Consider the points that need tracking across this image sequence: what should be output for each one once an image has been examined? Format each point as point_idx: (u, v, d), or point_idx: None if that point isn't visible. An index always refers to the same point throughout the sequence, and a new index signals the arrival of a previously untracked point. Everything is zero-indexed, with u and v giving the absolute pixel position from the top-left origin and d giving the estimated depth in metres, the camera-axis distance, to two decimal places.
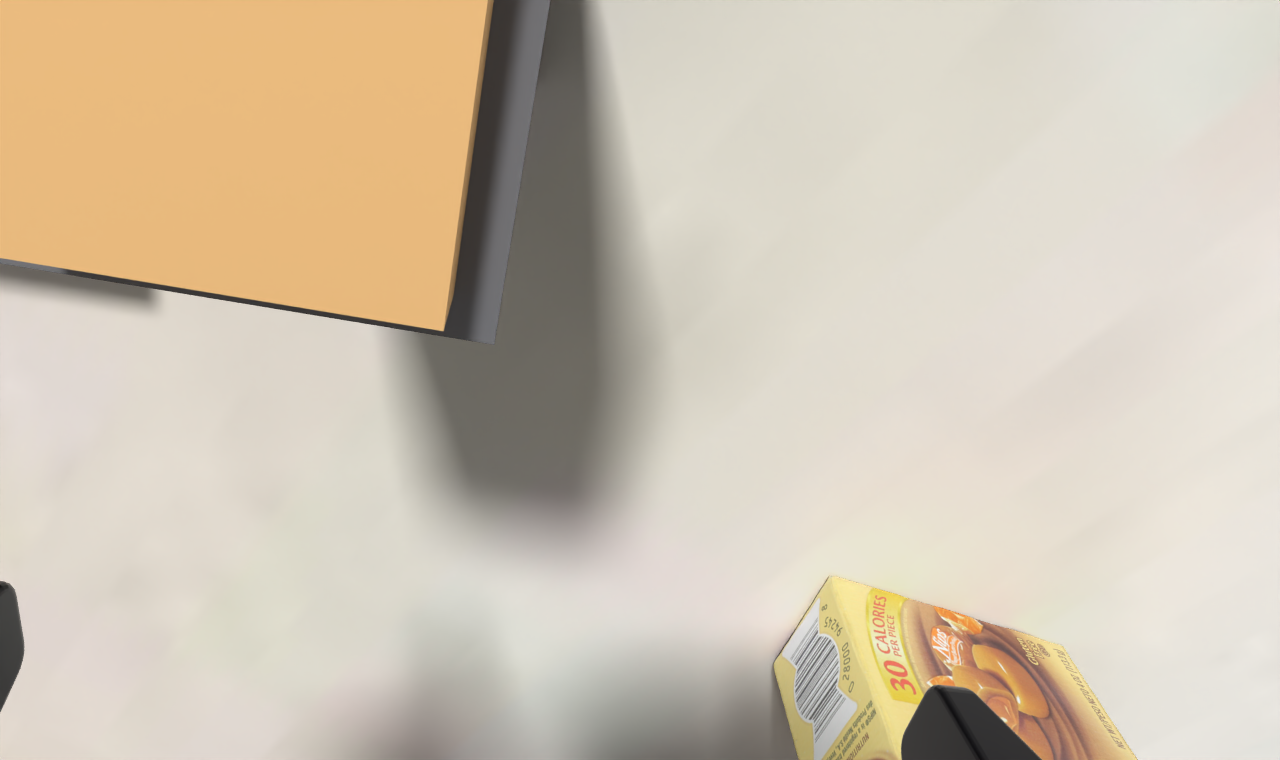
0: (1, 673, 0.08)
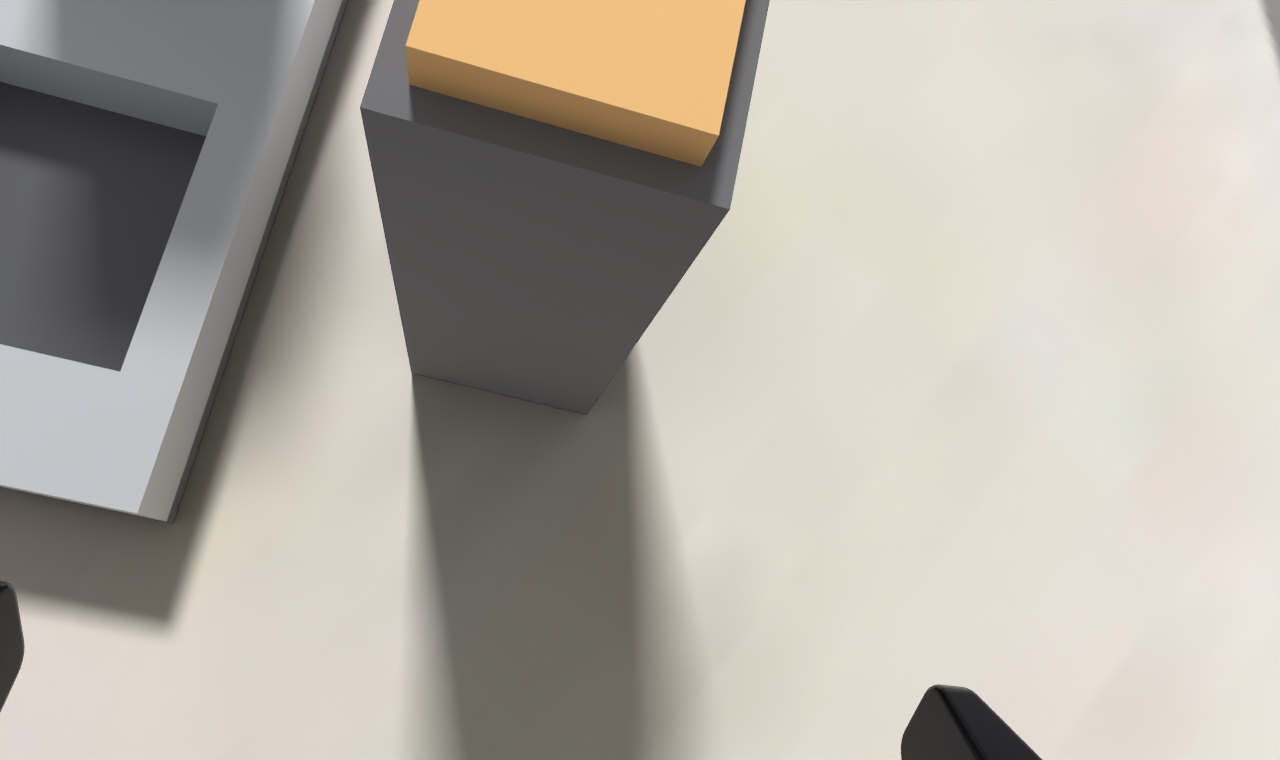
0: (2, 673, 0.08)
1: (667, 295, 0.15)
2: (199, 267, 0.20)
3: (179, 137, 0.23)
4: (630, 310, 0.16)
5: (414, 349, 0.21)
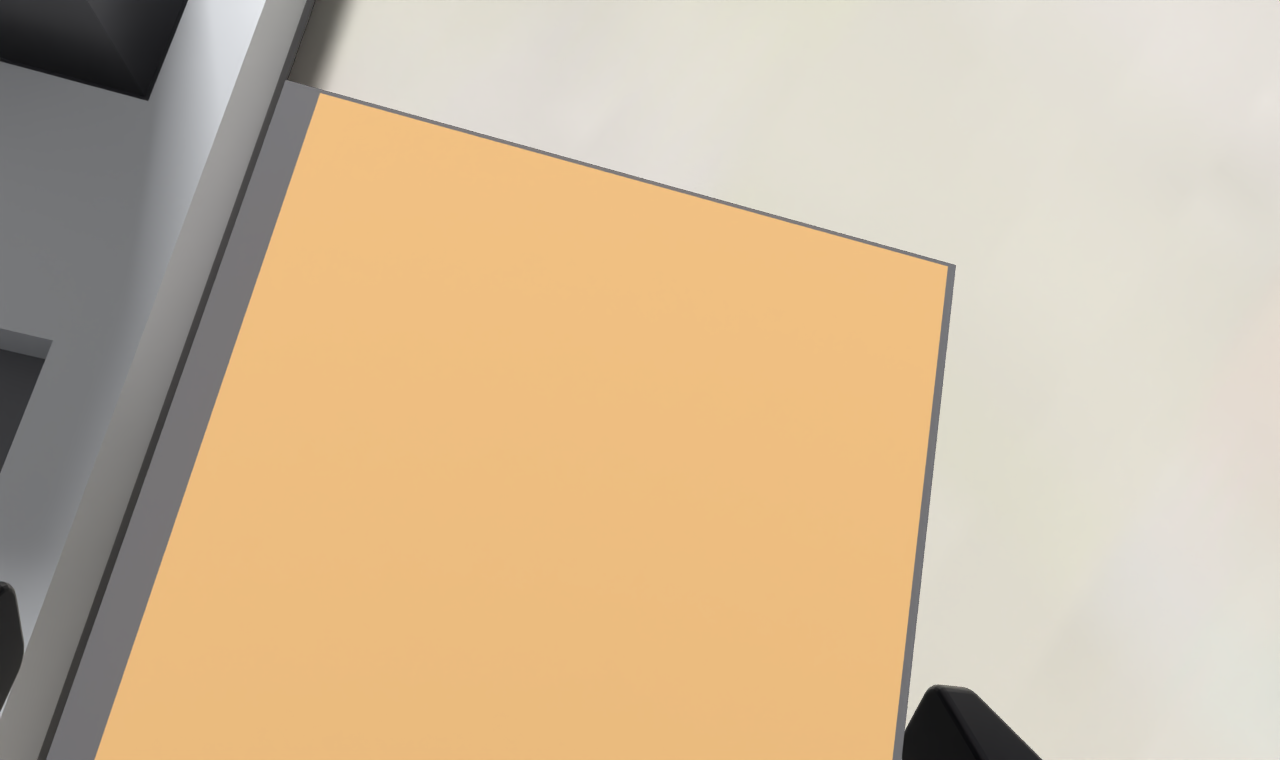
0: (1, 673, 0.08)
1: None
2: None
3: (15, 364, 0.17)
4: None
5: None
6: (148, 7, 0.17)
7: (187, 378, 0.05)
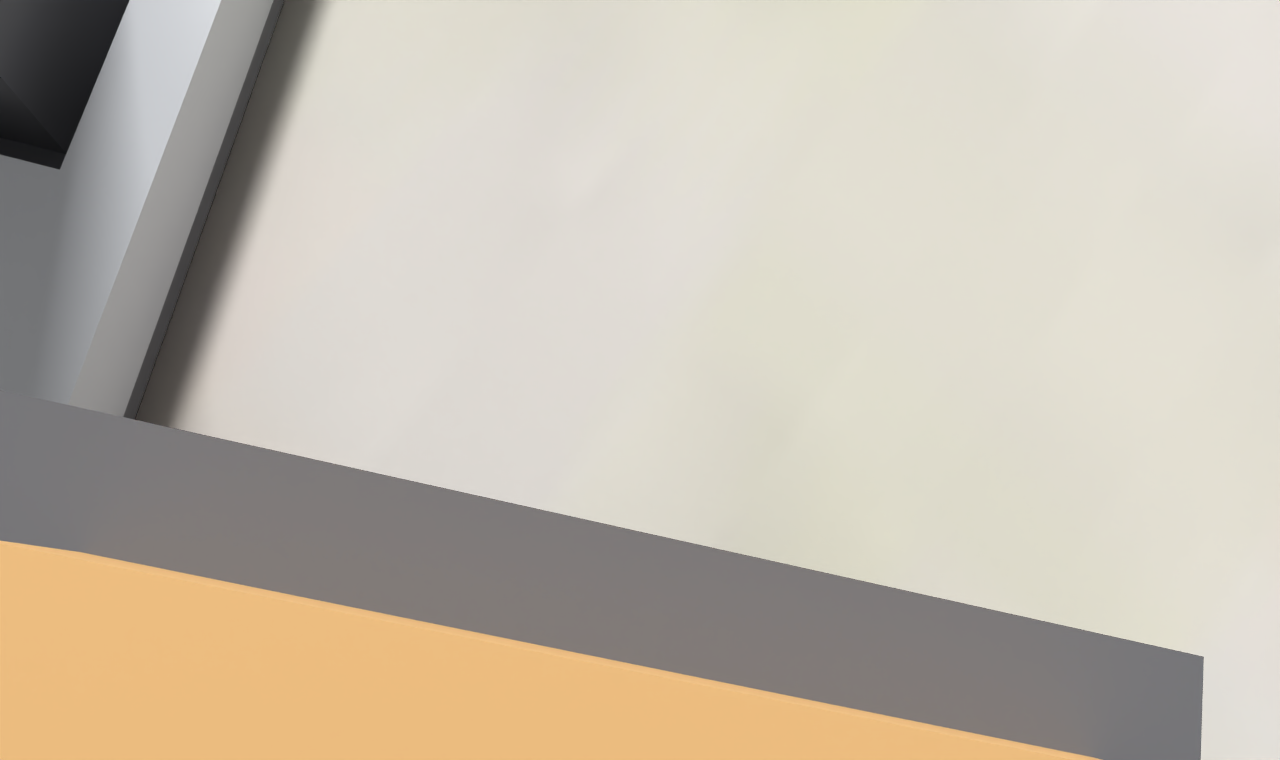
0: None
1: None
2: None
3: None
4: None
5: None
6: (67, 51, 0.15)
7: None
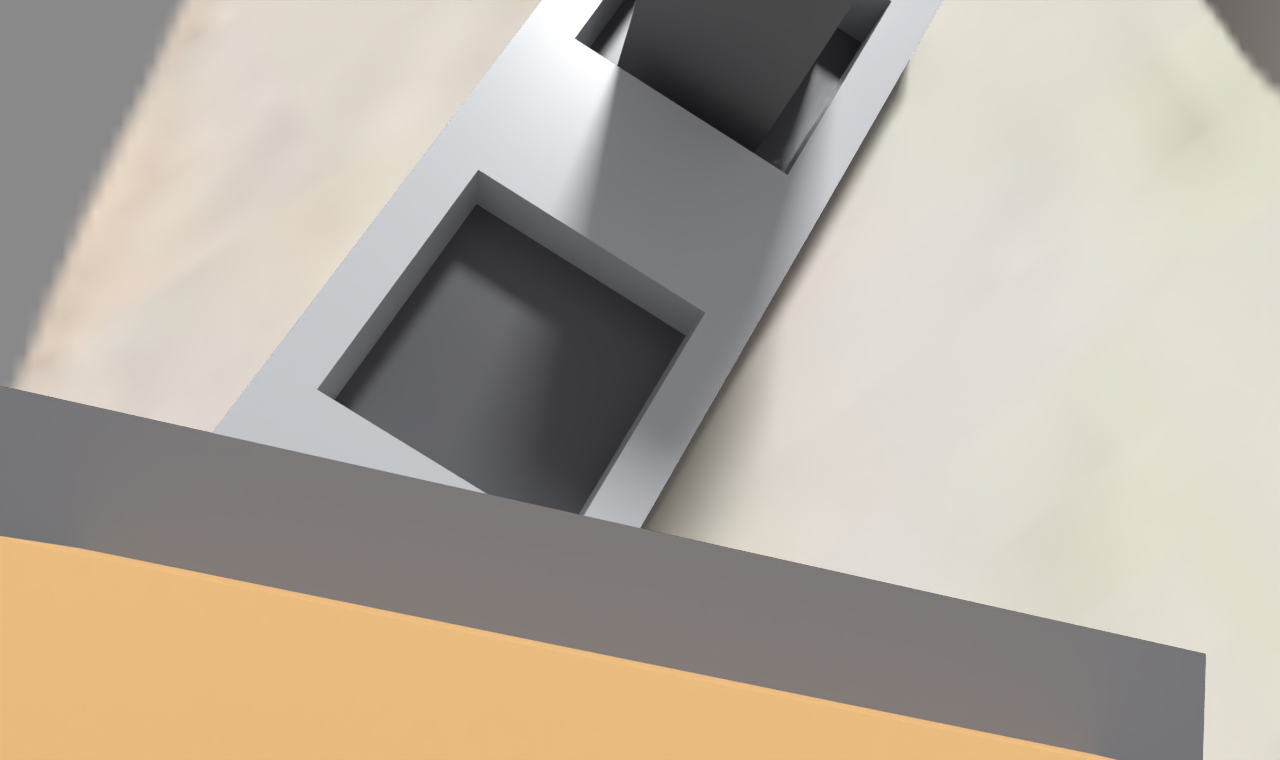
0: None
1: None
2: (655, 463, 0.22)
3: (638, 314, 0.24)
4: None
5: None
6: None
7: None
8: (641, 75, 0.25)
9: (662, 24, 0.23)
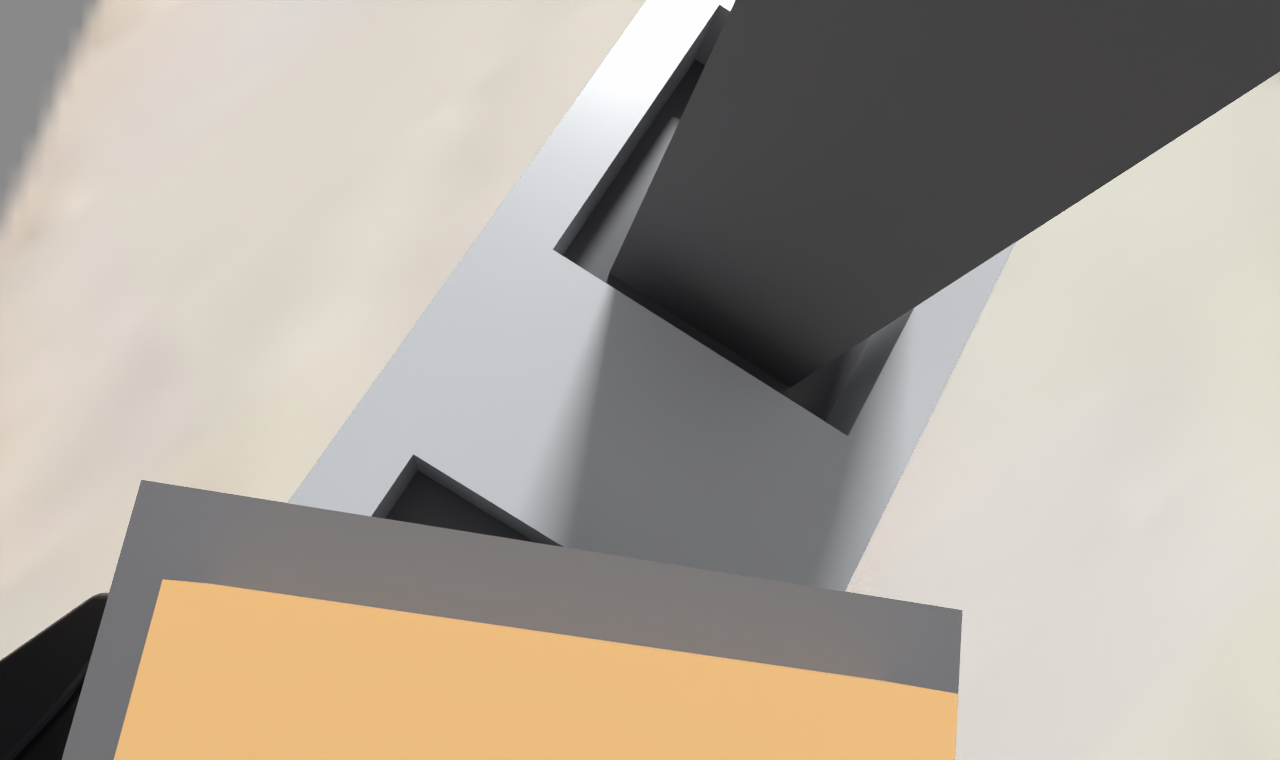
0: None
1: None
2: None
3: None
4: None
5: None
6: None
7: None
8: (645, 281, 0.19)
9: (674, 238, 0.16)
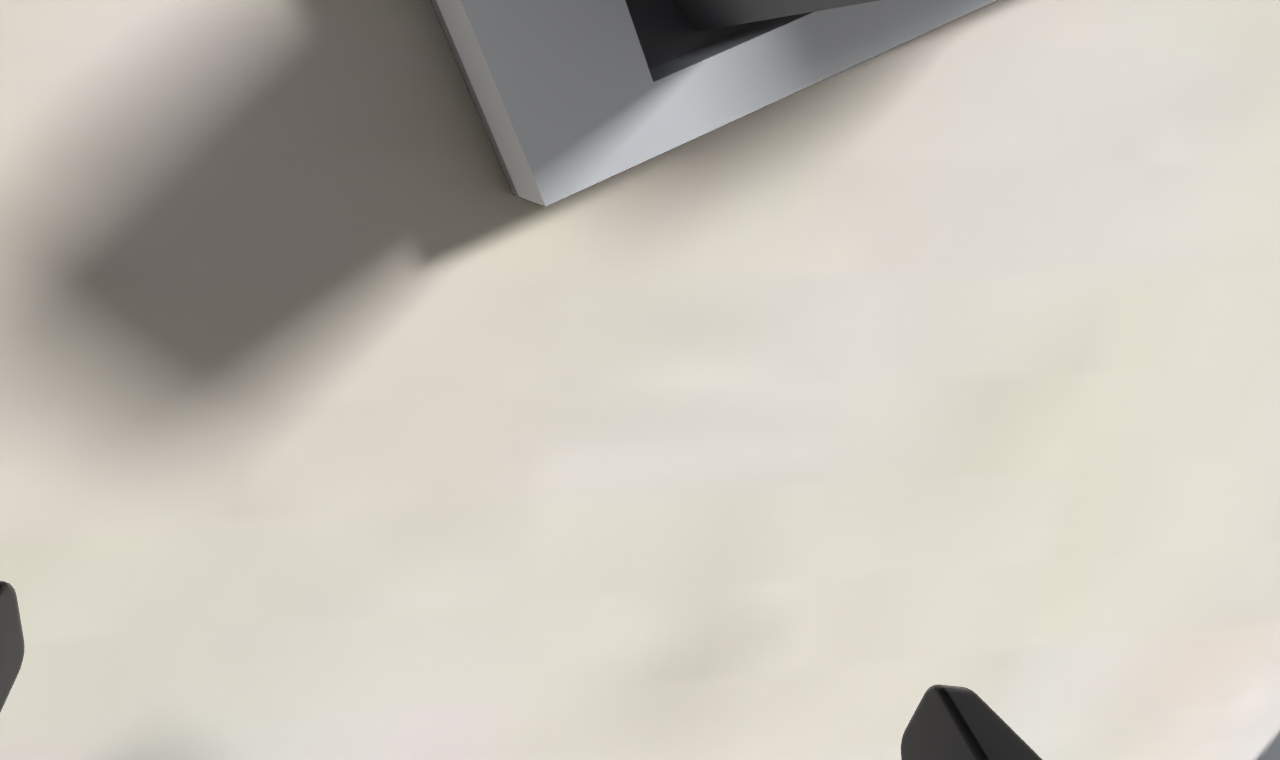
0: (1, 673, 0.08)
1: None
2: (784, 71, 0.18)
3: None
4: None
5: None
6: None
7: None
8: None
9: None
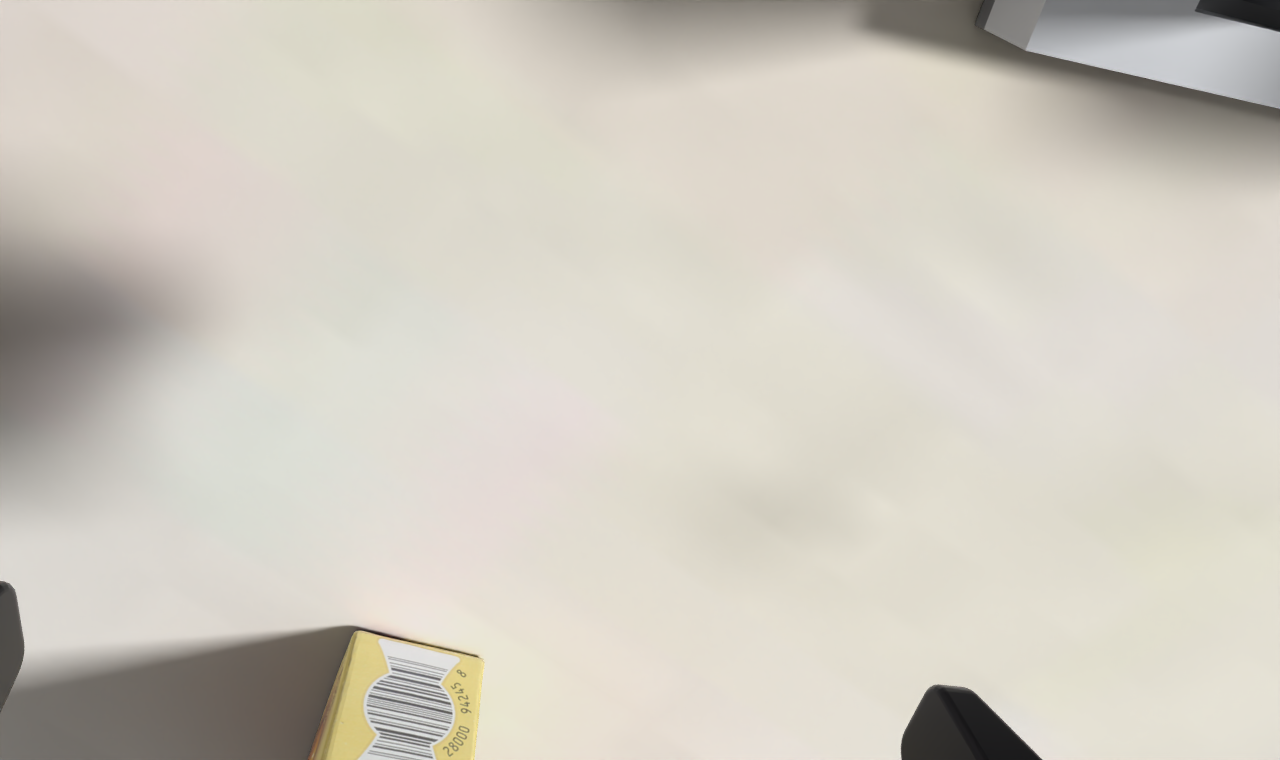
0: (1, 672, 0.08)
1: None
2: None
3: None
4: None
5: None
6: None
7: None
8: None
9: None
